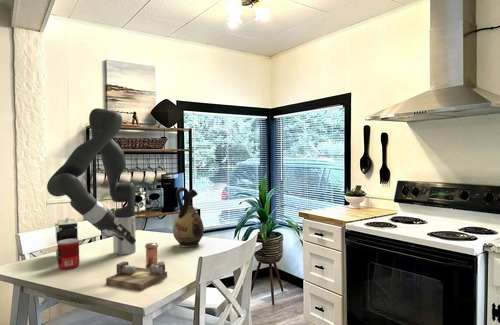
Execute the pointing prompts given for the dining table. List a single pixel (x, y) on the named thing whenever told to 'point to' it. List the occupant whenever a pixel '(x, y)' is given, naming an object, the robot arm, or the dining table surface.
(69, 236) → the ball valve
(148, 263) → the sleeve
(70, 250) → the canned food
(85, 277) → the dining table surface
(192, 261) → the dining table surface
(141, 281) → the shaft bench
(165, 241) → the dining table surface
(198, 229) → the ceramic jug
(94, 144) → the robot arm
